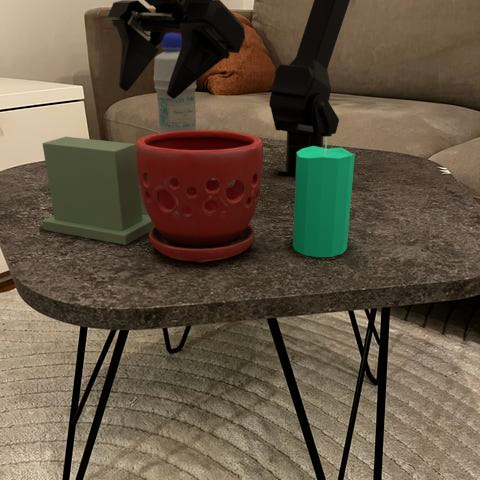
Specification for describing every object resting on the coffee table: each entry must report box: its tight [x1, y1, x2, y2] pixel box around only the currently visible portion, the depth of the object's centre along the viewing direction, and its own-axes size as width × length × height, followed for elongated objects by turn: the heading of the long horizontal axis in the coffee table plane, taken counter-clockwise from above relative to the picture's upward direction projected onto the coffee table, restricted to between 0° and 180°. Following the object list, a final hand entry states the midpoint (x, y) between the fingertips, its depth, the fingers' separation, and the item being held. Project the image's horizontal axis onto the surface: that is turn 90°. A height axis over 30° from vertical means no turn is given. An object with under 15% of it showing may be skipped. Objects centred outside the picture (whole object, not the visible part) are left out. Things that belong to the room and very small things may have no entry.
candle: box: [292, 137, 356, 258], centre depth 63 cm, size 6×6×12 cm
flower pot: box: [135, 129, 264, 264], centre depth 63 cm, size 13×13×12 cm
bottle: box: [153, 32, 198, 133], centre depth 94 cm, size 7×7×20 cm
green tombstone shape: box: [42, 136, 154, 246], centre depth 74 cm, size 18×12×10 cm, turn 154°
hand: (145, 92), depth 69 cm, fingers open, 9 cm apart
